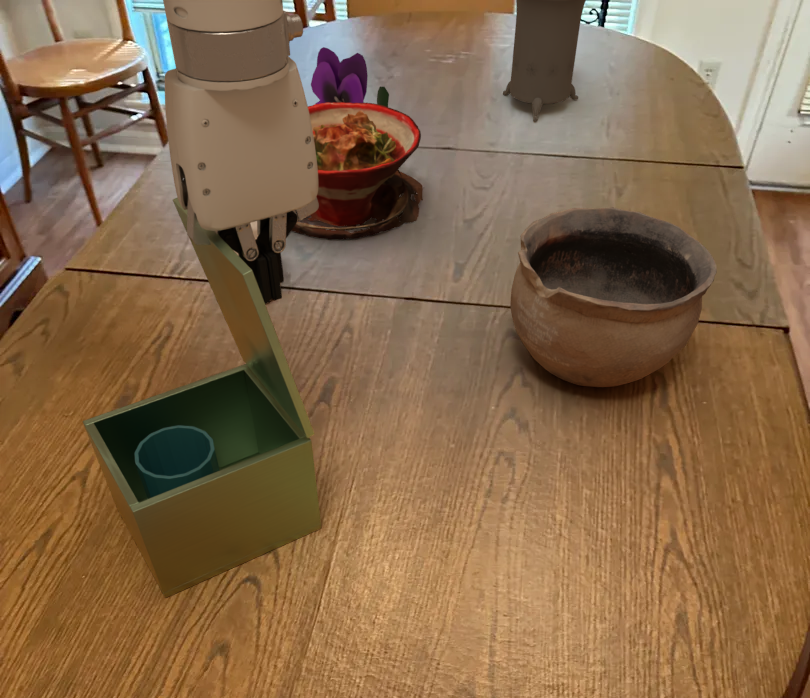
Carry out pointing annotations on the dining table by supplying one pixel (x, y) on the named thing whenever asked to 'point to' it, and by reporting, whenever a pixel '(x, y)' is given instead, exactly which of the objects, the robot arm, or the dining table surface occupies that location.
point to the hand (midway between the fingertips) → (265, 293)
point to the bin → (212, 478)
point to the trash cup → (174, 458)
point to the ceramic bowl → (607, 293)
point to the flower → (342, 79)
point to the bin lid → (250, 322)
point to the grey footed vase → (544, 51)
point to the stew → (362, 170)
